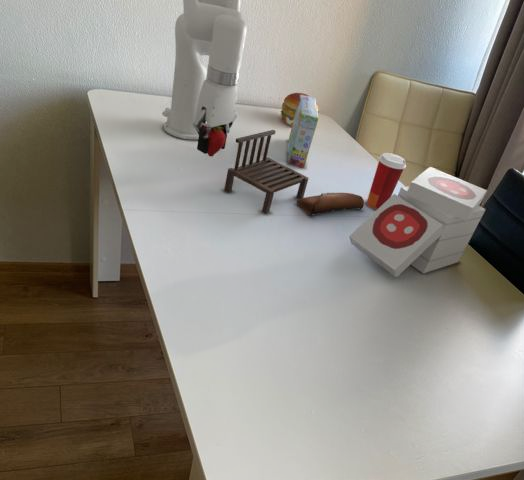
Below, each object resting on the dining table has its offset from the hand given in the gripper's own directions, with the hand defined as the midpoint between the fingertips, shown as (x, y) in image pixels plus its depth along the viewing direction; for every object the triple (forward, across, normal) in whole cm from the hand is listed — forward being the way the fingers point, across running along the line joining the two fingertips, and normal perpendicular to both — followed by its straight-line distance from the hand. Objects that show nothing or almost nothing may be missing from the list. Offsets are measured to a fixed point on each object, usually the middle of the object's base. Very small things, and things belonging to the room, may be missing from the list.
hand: (211, 148), depth 139 cm
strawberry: (+2, 0, 0) cm, 2 cm away
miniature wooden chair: (+7, -6, +16) cm, 18 cm away
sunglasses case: (+7, -16, +30) cm, 35 cm away
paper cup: (+7, -31, +37) cm, 49 cm away
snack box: (+8, -39, +3) cm, 40 cm away
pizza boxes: (+6, -12, +56) cm, 58 cm away
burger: (+9, -64, -14) cm, 67 cm away
